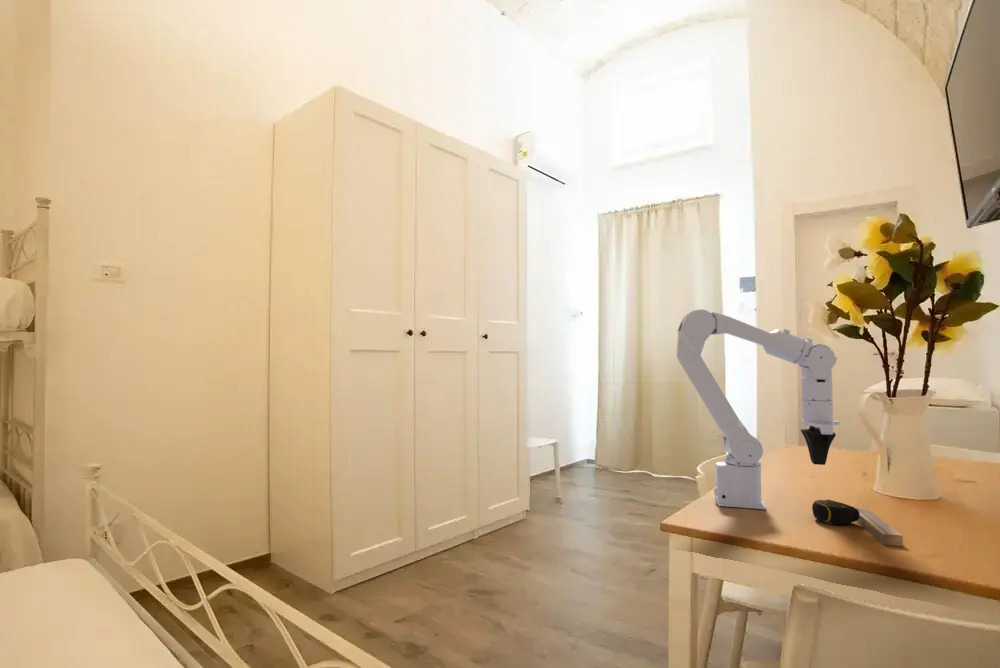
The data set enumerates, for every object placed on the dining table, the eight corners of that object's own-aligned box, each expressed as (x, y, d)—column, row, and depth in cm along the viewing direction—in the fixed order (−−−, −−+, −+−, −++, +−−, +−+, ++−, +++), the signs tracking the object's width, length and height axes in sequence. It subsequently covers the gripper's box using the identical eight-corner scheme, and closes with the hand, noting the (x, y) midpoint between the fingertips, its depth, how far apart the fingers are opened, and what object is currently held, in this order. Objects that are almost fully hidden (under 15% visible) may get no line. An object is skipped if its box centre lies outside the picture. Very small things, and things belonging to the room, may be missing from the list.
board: (882, 544, 93) (882, 533, 93) (851, 516, 108) (851, 507, 108) (903, 546, 92) (902, 535, 92) (868, 518, 107) (868, 508, 107)
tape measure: (862, 526, 103) (861, 506, 103) (835, 529, 101) (834, 509, 101) (830, 515, 109) (829, 497, 110) (804, 518, 107) (804, 500, 107)
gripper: (849, 403, 107) (851, 472, 106) (828, 397, 120) (829, 458, 120) (809, 402, 109) (811, 470, 108) (793, 396, 123) (794, 456, 122)
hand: (818, 463), depth 114 cm, fingers closed
